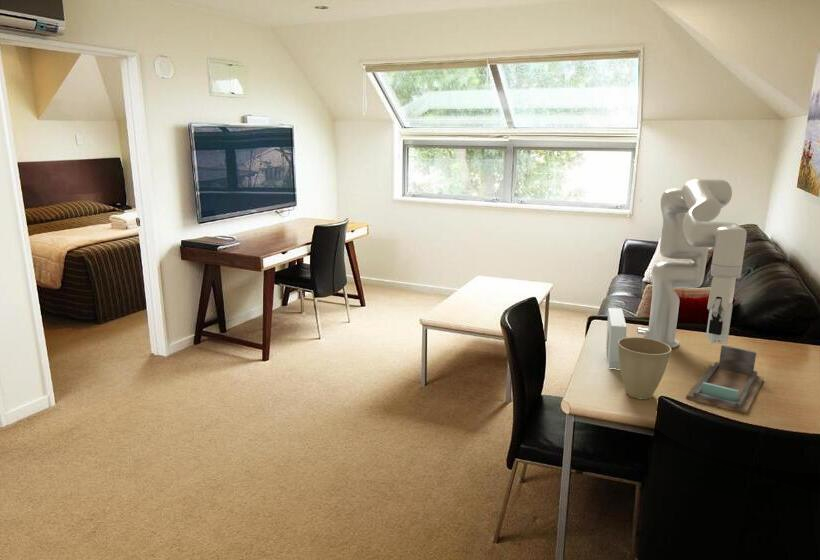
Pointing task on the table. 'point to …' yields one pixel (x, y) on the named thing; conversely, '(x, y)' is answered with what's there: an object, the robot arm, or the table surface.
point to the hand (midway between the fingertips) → (717, 329)
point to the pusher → (719, 392)
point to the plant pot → (642, 365)
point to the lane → (730, 379)
